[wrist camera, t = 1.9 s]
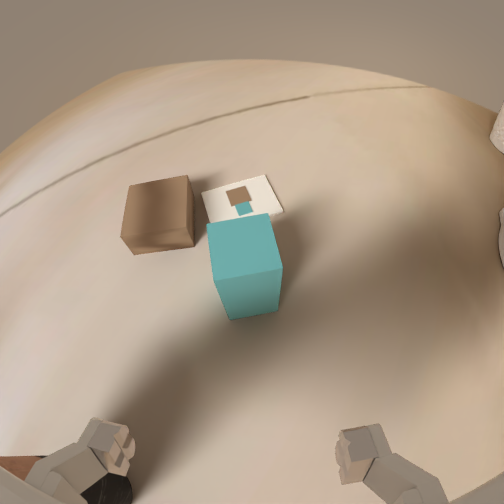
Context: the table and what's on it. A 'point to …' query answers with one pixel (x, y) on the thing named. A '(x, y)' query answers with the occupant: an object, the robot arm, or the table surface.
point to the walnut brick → (159, 216)
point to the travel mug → (97, 495)
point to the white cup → (498, 131)
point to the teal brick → (245, 265)
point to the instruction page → (241, 200)
